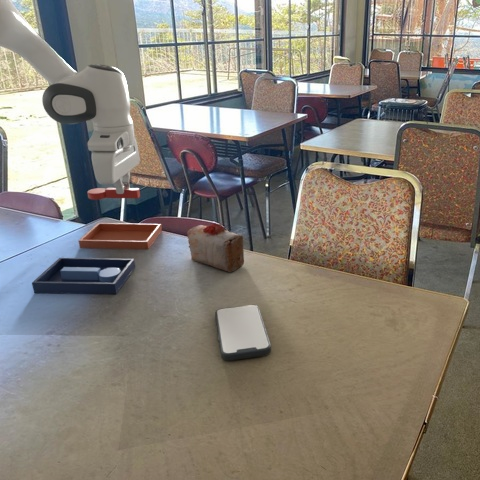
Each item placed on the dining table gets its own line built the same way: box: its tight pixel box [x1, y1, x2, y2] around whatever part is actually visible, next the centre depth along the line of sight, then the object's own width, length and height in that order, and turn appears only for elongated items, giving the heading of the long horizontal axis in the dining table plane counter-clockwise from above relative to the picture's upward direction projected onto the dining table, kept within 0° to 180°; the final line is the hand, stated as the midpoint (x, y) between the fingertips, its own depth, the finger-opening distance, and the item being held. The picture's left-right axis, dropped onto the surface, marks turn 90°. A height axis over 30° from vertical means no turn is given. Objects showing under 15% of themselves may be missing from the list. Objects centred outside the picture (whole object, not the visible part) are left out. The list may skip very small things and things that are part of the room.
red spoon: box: [86, 187, 141, 201], centre depth 121 cm, size 13×5×2 cm, turn 91°
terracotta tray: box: [78, 222, 163, 250], centre depth 127 cm, size 17×12×2 cm
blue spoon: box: [60, 267, 121, 283], centre depth 107 cm, size 13×5×2 cm, turn 91°
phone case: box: [214, 304, 272, 362], centre depth 89 cm, size 9×2×16 cm
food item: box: [187, 221, 245, 273], centre depth 115 cm, size 14×8×10 cm, turn 59°
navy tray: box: [31, 257, 136, 295], centre depth 107 cm, size 17×12×2 cm
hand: (123, 191), depth 121 cm, fingers closed on red spoon, 2 cm apart
